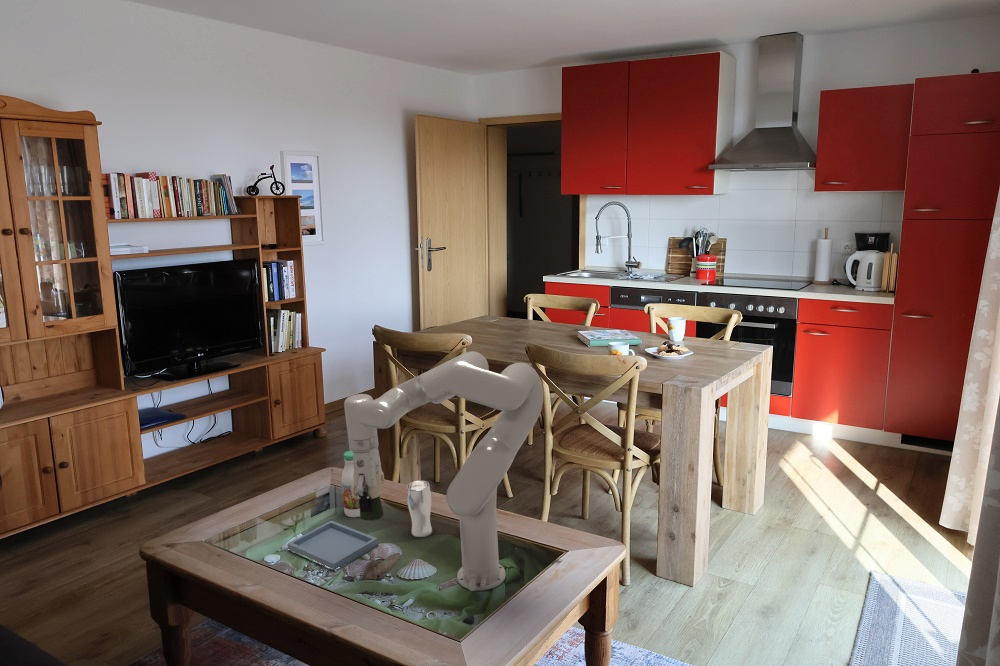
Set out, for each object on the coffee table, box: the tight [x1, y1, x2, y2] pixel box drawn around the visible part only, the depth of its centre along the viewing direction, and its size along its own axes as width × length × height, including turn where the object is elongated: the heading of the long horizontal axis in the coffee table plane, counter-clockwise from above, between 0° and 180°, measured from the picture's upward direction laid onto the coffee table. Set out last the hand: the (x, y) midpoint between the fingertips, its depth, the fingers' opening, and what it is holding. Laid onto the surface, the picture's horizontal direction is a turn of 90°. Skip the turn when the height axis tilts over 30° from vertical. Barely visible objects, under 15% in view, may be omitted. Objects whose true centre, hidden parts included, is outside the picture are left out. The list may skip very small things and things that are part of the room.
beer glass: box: [406, 480, 433, 538], centre depth 213 cm, size 7×7×15 cm
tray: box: [287, 520, 379, 569], centre depth 208 cm, size 20×16×2 cm
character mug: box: [351, 469, 385, 521], centre depth 193 cm, size 11×7×13 cm, turn 141°
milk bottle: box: [340, 450, 360, 518], centre depth 227 cm, size 8×8×20 cm
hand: (370, 503), depth 193 cm, fingers closed on character mug, 8 cm apart
